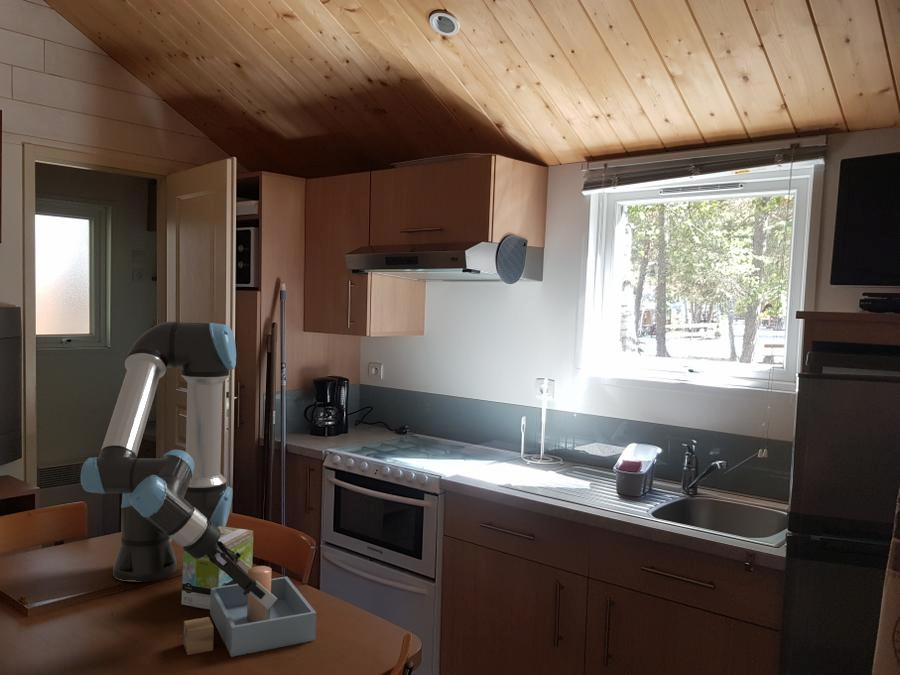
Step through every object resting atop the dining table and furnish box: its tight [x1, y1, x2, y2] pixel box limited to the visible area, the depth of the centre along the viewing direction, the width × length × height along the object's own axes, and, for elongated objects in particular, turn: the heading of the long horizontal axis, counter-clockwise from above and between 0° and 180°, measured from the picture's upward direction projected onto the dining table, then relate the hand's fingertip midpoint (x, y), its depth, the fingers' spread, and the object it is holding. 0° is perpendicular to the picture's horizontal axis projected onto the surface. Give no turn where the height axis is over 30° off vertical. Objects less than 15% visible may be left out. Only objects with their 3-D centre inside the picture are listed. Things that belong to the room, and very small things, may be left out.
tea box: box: [181, 526, 254, 610], centre depth 175 cm, size 15×10×15 cm, turn 164°
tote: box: [209, 576, 317, 658], centre depth 161 cm, size 22×18×6 cm
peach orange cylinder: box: [247, 565, 273, 623], centre depth 163 cm, size 5×5×11 cm
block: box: [183, 616, 215, 656], centre depth 151 cm, size 5×5×5 cm
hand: (263, 591), depth 163 cm, fingers open, 13 cm apart
